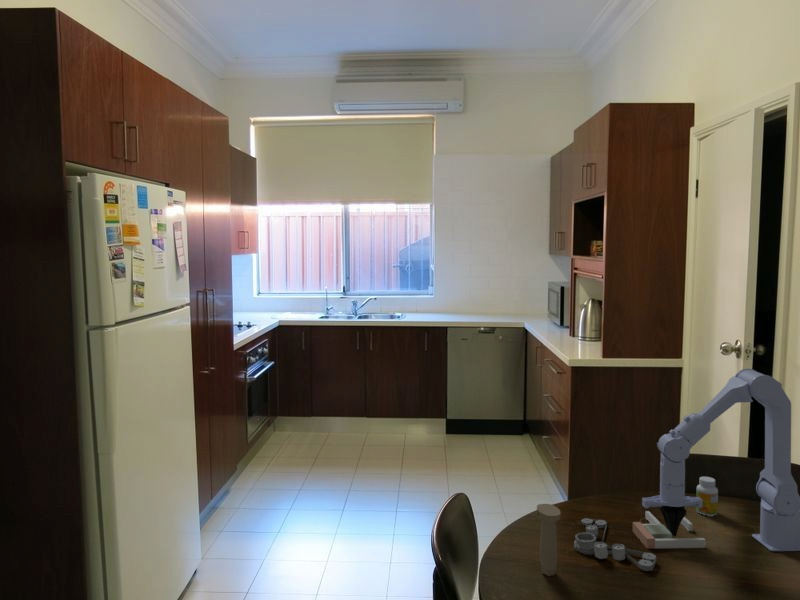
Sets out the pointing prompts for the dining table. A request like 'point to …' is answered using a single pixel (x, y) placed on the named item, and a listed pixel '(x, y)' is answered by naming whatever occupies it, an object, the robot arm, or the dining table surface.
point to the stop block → (643, 535)
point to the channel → (676, 541)
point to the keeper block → (658, 531)
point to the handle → (548, 537)
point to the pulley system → (608, 546)
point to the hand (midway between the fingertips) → (671, 533)
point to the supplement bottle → (707, 496)
